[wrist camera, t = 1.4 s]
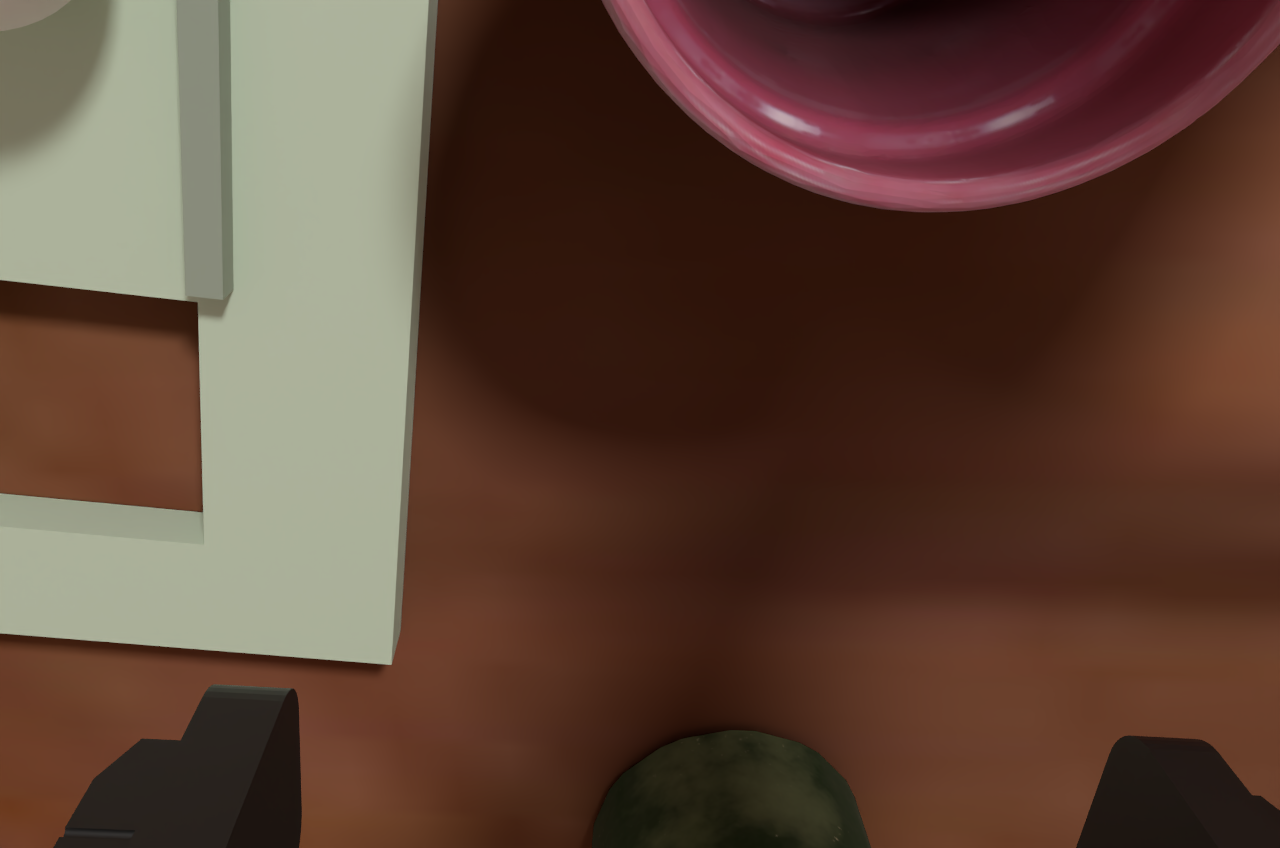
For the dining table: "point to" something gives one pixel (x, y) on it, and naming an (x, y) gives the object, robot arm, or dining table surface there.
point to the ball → (26, 12)
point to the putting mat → (232, 307)
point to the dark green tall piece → (731, 798)
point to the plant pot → (945, 87)
